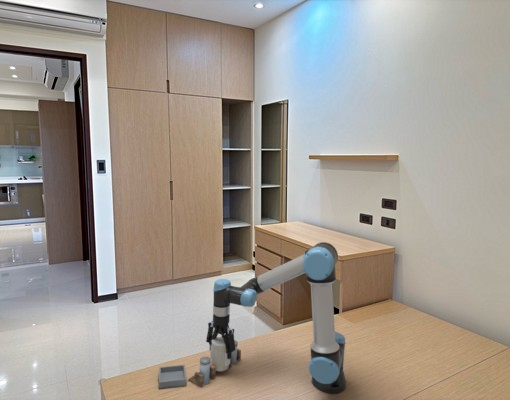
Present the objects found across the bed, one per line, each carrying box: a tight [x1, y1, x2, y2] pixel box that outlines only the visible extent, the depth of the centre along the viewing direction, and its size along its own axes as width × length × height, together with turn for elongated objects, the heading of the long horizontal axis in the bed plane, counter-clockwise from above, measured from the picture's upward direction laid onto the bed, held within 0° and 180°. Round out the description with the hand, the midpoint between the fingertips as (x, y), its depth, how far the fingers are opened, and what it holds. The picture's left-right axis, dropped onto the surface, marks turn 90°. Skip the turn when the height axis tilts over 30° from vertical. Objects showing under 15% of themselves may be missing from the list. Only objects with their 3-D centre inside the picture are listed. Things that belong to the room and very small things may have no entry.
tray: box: [158, 364, 187, 390], centre depth 153 cm, size 11×11×3 cm
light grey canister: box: [210, 336, 229, 372], centre depth 160 cm, size 8×8×12 cm
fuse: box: [231, 339, 238, 366], centre depth 169 cm, size 5×5×10 cm
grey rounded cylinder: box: [199, 356, 211, 385], centre depth 153 cm, size 5×5×10 cm
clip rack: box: [187, 348, 242, 388], centre depth 162 cm, size 8×28×5 cm, turn 145°
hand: (220, 361), depth 161 cm, fingers closed on light grey canister, 8 cm apart
